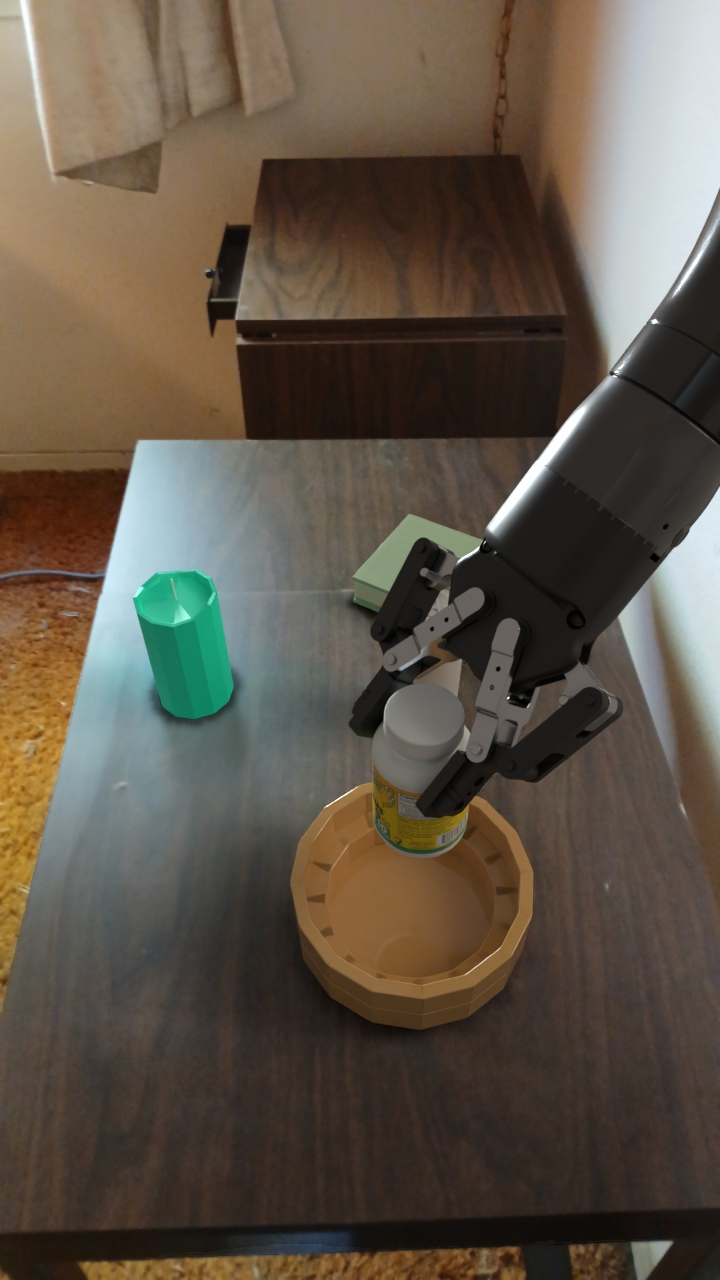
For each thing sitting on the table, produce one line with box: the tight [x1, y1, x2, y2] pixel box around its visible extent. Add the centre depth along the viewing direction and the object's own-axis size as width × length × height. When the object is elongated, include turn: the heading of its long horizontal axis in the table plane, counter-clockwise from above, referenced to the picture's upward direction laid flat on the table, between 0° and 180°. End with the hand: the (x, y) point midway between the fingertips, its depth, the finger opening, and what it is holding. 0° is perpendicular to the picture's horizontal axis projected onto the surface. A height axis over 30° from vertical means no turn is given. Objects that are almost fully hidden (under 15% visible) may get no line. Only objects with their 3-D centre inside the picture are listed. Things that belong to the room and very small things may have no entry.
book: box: [352, 513, 484, 613], centre depth 77 cm, size 13×10×3 cm
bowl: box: [289, 782, 534, 1031], centre depth 56 cm, size 15×15×5 cm
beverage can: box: [413, 587, 463, 698], centre depth 65 cm, size 5×5×12 cm
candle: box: [132, 569, 235, 720], centre depth 67 cm, size 6×6×12 cm
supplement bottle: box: [370, 684, 471, 858], centre depth 47 cm, size 5×5×10 cm
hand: (394, 770), depth 46 cm, fingers closed on supplement bottle, 5 cm apart
